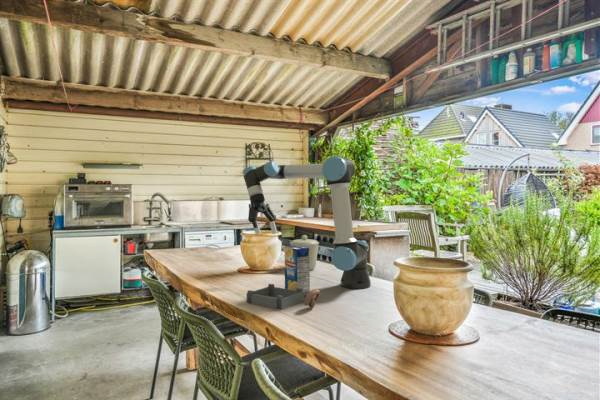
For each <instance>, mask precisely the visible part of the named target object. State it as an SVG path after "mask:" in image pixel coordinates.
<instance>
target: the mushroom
mask: <svg viewBox="0 0 600 400" xmlns="http://www.w3.org/2000/svg"><path fill="white" fill-rule="evenodd" d="M320 294H321V291H320V290H319V289H317V288H315V289H310V292H308V293H307V295H306V297H304V301H303V304H304V305H305V306H308V307H309V309H310V310H313V308H314V307H315V305H316V302H317V300H318V298H319V297H320Z"/></svg>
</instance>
